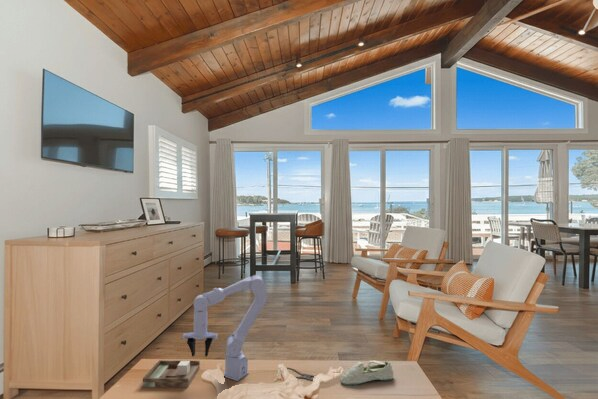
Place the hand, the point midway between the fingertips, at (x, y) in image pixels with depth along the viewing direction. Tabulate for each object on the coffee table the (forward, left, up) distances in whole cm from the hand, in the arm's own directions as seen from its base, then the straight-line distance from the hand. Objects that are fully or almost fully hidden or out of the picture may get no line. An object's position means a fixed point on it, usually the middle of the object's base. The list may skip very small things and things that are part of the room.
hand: (200, 355), depth 142 cm
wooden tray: (+10, +6, -9) cm, 15 cm away
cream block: (+6, +3, -7) cm, 10 cm away
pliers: (-36, -24, -10) cm, 44 cm away
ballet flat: (-63, -36, -10) cm, 73 cm away
